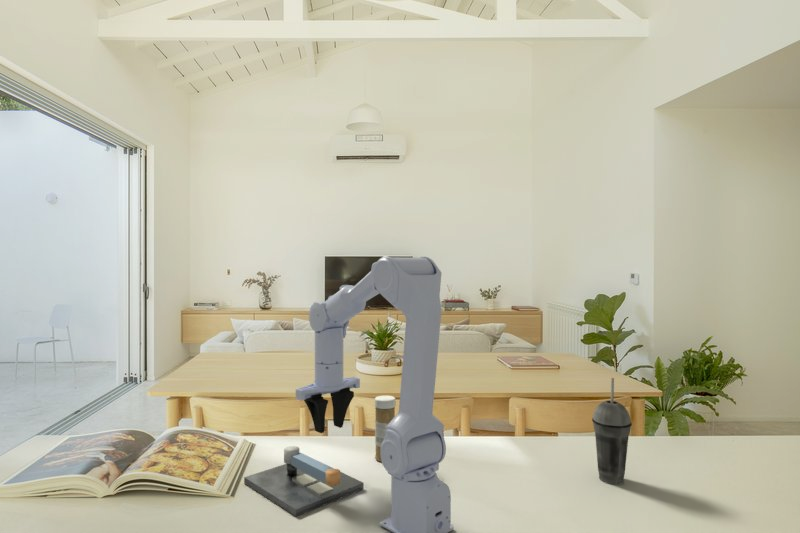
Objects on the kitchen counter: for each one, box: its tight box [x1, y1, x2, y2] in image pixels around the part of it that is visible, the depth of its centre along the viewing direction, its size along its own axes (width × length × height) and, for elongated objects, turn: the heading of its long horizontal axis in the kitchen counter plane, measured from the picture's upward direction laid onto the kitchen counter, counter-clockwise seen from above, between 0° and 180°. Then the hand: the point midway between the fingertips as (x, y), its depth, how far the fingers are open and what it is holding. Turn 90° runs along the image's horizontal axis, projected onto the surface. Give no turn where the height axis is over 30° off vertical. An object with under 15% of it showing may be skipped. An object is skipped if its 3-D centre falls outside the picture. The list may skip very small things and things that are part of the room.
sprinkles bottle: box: [374, 394, 397, 463], centre depth 113 cm, size 5×5×14 cm
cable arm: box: [283, 445, 341, 486], centre depth 97 cm, size 16×3×2 cm, turn 45°
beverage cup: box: [591, 377, 633, 485], centre depth 102 cm, size 7×7×20 cm
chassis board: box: [243, 463, 364, 517], centre depth 99 cm, size 18×15×3 cm
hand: (329, 429), depth 104 cm, fingers open, 4 cm apart
